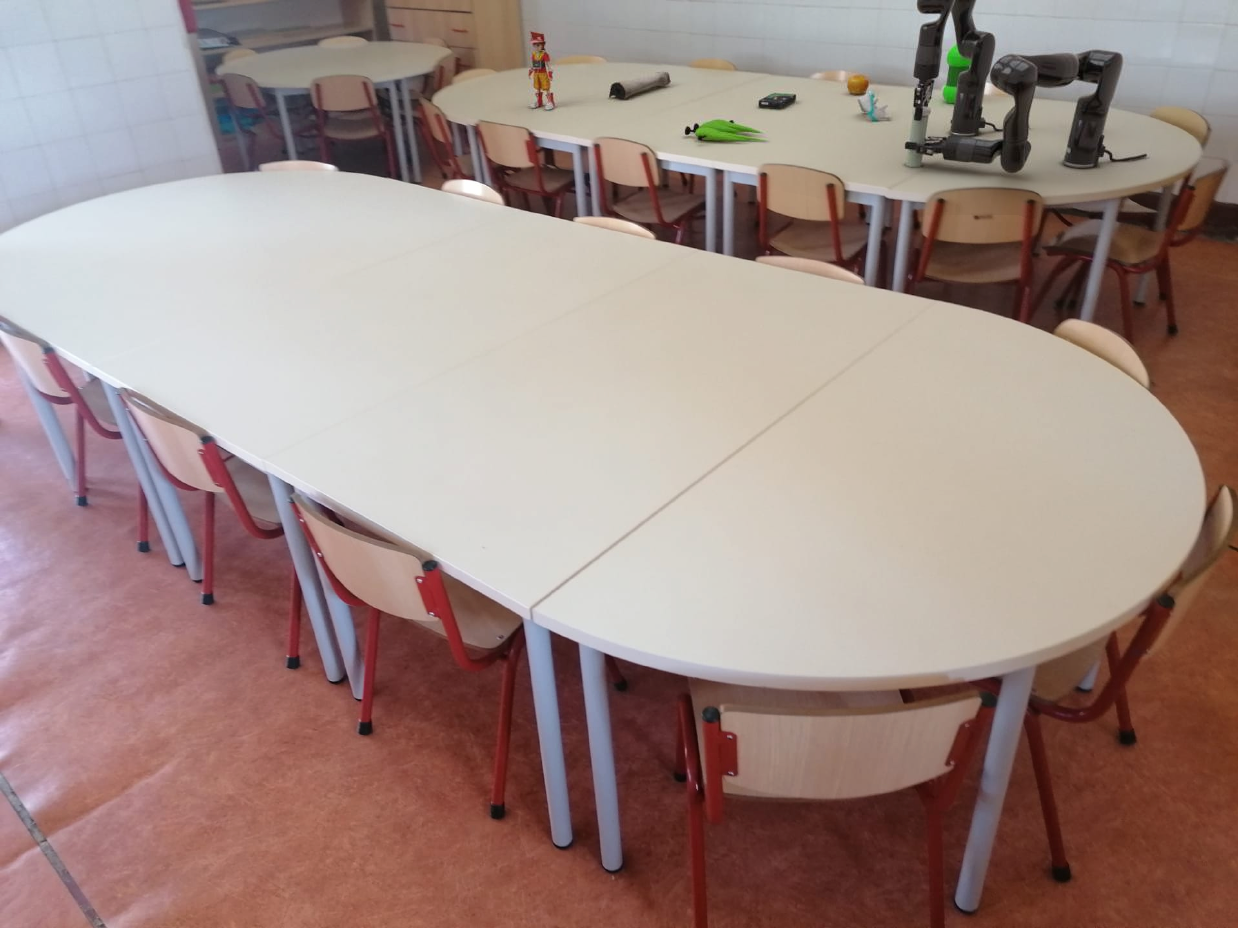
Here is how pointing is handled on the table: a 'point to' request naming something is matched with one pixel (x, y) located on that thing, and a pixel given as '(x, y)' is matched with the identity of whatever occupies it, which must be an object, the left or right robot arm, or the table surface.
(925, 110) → the lid
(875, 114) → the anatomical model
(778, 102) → the disk drive
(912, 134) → the jar
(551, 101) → the toy
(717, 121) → the toy
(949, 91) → the green dumbbell-shaped cylinder
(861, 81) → the fruit
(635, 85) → the rolled mat
